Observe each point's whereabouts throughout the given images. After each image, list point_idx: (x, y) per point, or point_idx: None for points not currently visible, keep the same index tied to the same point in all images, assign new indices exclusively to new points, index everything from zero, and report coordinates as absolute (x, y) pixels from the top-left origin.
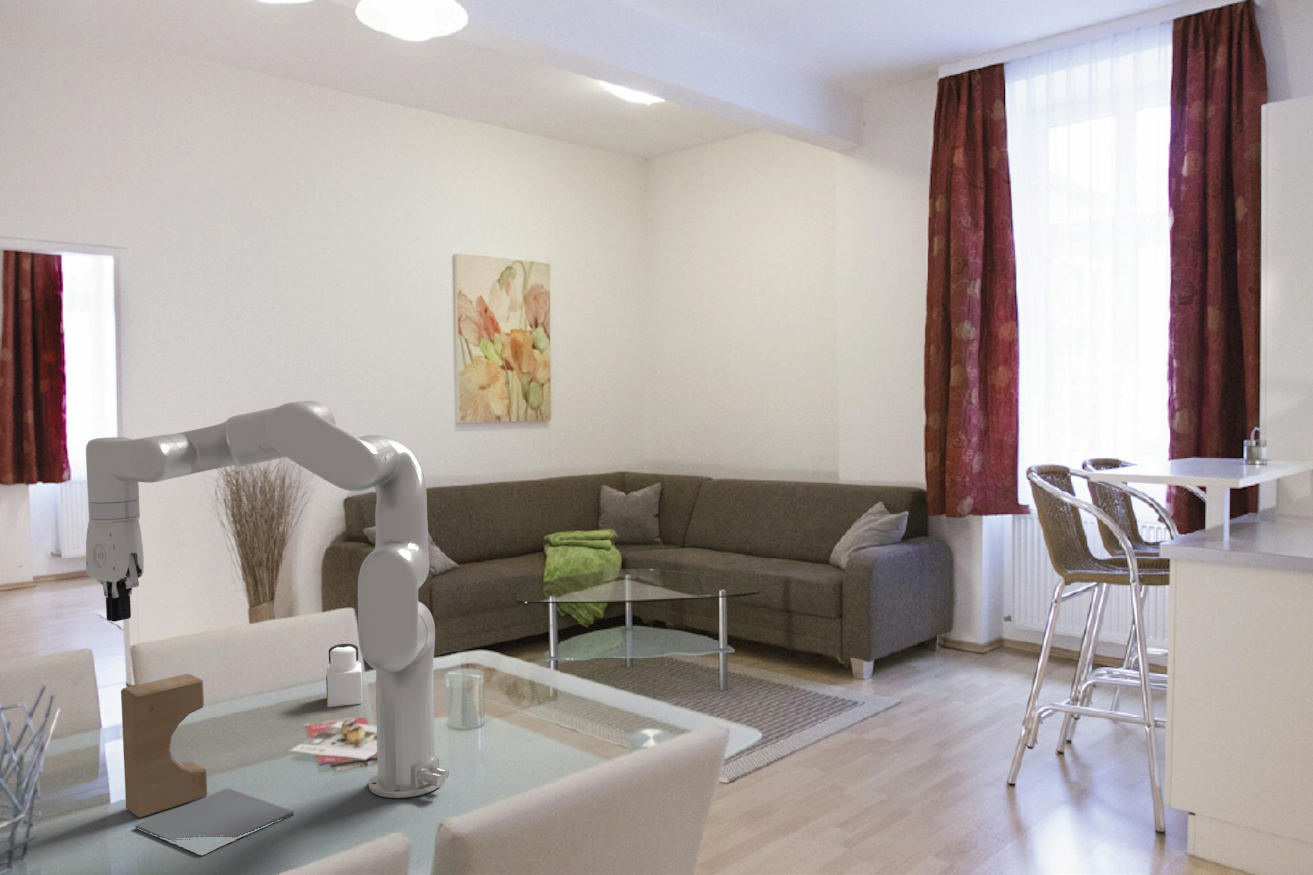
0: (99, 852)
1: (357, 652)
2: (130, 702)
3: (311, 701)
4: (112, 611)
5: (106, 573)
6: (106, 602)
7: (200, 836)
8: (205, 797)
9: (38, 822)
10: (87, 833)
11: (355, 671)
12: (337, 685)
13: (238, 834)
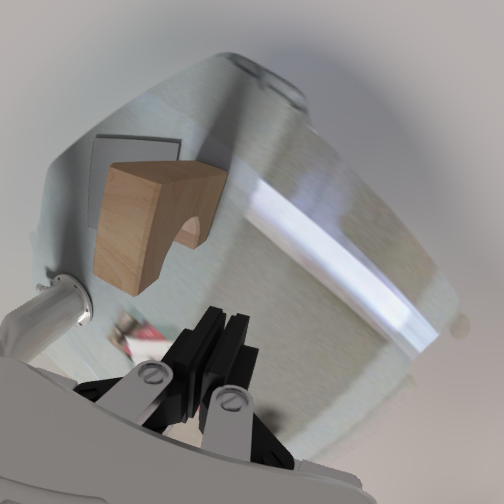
0: (171, 97)
1: None
2: (129, 165)
3: (276, 434)
4: (196, 326)
5: (40, 422)
6: (226, 357)
7: (111, 156)
8: None
9: (293, 113)
10: (216, 116)
11: None
12: None
13: (91, 174)
